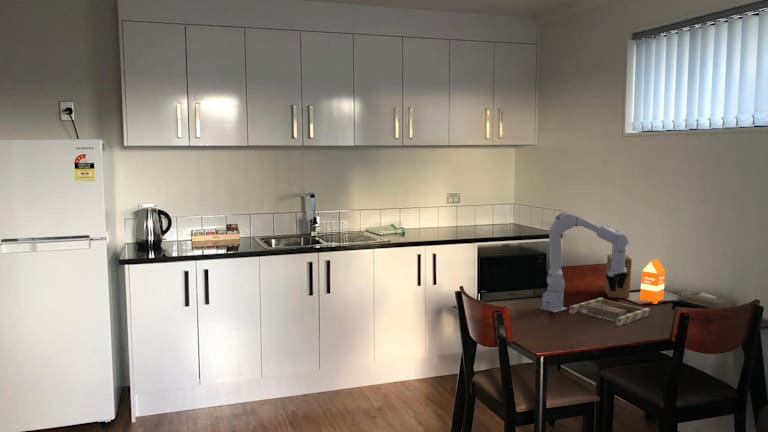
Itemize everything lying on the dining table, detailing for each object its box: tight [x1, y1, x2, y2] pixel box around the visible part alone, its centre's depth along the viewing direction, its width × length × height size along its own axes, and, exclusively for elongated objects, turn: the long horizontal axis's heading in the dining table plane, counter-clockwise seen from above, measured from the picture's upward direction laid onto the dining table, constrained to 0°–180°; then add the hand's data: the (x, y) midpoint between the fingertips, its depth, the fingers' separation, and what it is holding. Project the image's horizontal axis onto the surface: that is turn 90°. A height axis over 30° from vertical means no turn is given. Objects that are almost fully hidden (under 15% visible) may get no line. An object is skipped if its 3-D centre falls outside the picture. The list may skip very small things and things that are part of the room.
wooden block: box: [605, 253, 633, 299], centre depth 307 cm, size 10×10×20 cm
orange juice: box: [639, 258, 666, 305], centre depth 299 cm, size 8×9×20 cm
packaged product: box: [580, 302, 628, 323], centre depth 273 cm, size 18×5×10 cm
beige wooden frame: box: [568, 297, 651, 327], centre depth 276 cm, size 26×24×3 cm
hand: (616, 289), depth 281 cm, fingers open, 7 cm apart
